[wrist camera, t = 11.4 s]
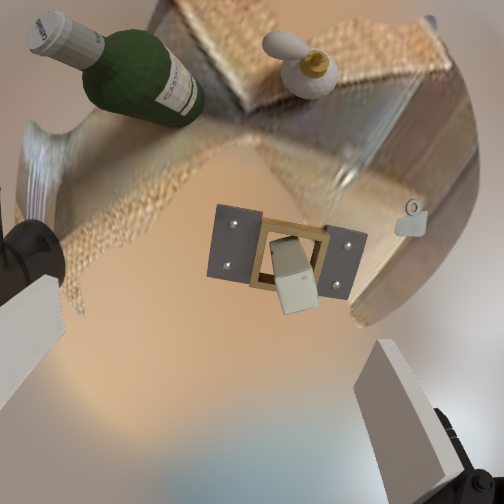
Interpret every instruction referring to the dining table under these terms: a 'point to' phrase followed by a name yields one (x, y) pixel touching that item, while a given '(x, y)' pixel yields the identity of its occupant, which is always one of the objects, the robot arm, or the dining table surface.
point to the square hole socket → (256, 229)
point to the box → (293, 276)
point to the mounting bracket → (412, 221)
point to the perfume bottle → (301, 65)
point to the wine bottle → (121, 70)
